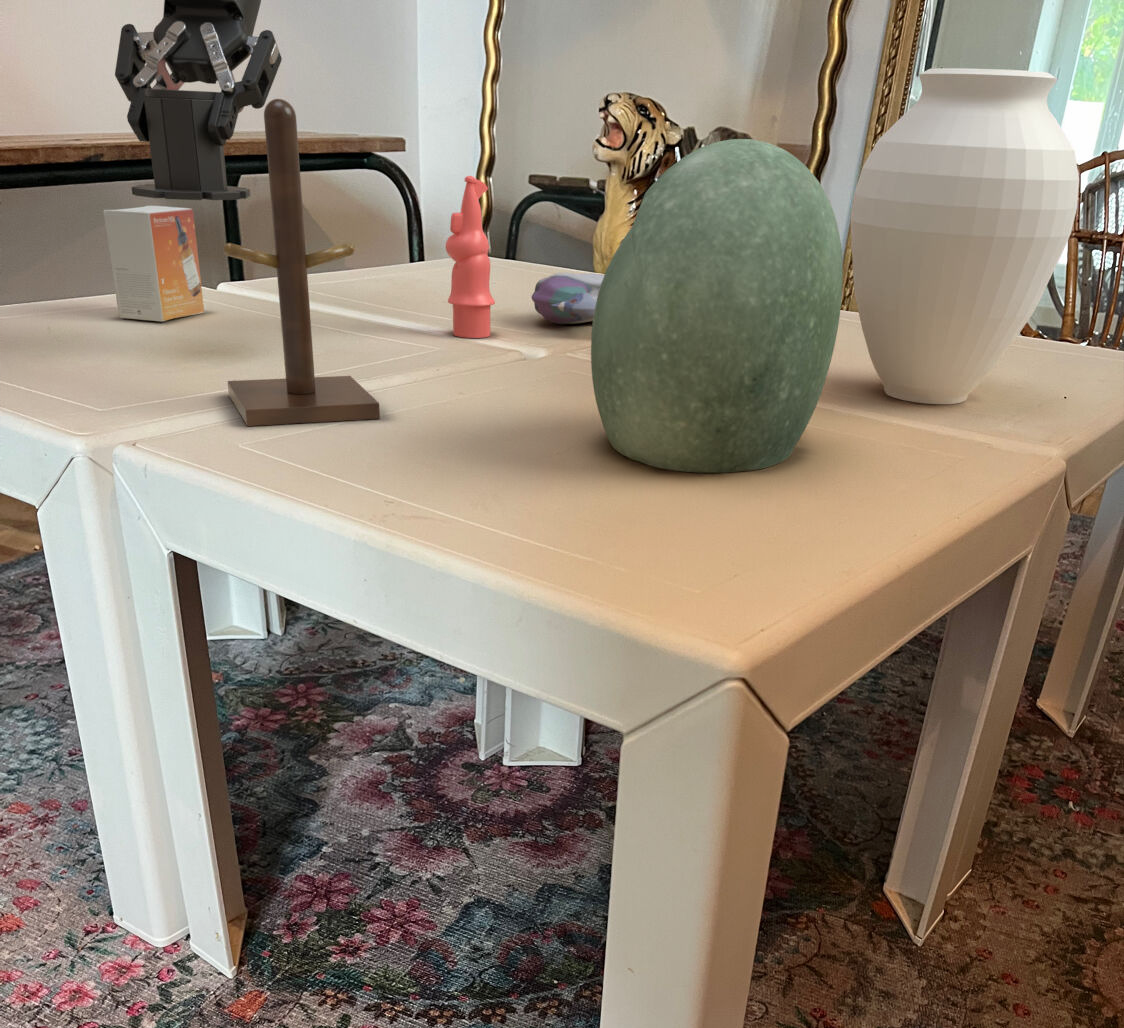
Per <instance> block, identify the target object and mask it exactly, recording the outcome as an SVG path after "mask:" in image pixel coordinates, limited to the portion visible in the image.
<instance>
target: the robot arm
mask: <svg viewBox="0 0 1124 1028" xmlns="http://www.w3.org/2000/svg"><path fill="white" fill-rule="evenodd" d="M261 3H262V0H163V16H162V19H161V20H160V22H159V23H158V24H156V26H155V27H154V29H153V31H144V32H143V31H139V32H138V31H137V28H136V27H135V25H134V24H132V23H127V24H124V25H123V26H122V27H121V29H120V36H119V43H118V50H117V56H116V64H115V71H114V77H115V78H116V81H117V83H118V84H119V86H120V89H121V90H122V91H123V93H124V95H125V97H126V99H127V101H128V102H130V105H129V108H128V111H127V115H126V119H127V122H128V124H129V126H130V128H131V130H132V131H133V134H134V135H135V136H136V138H137V140H138V141H139V142H144V143H145V142H147V143H149V135H148V127H147V119H146V111H145V103H144V97H146V95H145V89H164V90H181V88H182V87H183V85H184V84H185V83H186V84H187V83H190V84H192V83H196V82H201V83H204V84H206V85H207V84H208V85H209V84H211V85H216V84H217V82H218V85H219V88H220V89H221V90H220V91H215V92H216V94H215V98H214V102H213V106H212V110H211V114H210V118H209V122H208V131H209V133H210V136H211V138H212V140H213V142H214V144H215V145H216V146H223V147H225V146H226V143H227V140H229V141H230V140H231V138H232V137H234V133H235V128H236V125H237V121H238V116H239V114H240V113H241V112H243V110H244V108H245V107H249V106H251V107H252V108H253V109H256V110H258V109H262V108H263V107H264V106H265V104H266V101H267V98H268V96H269V94H270V92H271V89H272V86H273V83H274V81H275V78H276V76H277V73H278V71H279V68H280V66H281V63H282V60H283V59H282V56H281V52H280V49H279V47H278V43H277V41H276V38H275V35H274V33H273V31H272V30H269V29H265V30H262V31H261V32H260V33H259V35H258V36H255V35H254V32H255V27H256V23H257V19H258V17H259V16H258V15H259V11H260V7H261ZM253 35H254V36H253ZM249 57H250V58H249ZM248 58H249V60H248V63H247V65H246V68H245V70H244V73H243V75H242V78H241V80H240V81H236V79H235V75H234V73H233V71H234V70H235V69H236V68H237V67H239V66H240V65H241V64H243V62H244V61H246V60H247V59H248ZM166 65H167V66H166ZM167 67H168V69H169V70H170V71H171V73H169V70H168V69H167ZM155 80H156V82H155V84H154V85H153V86H151V85H152V83H153V82H154V81H155Z"/></svg>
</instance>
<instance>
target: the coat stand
mask: <svg viewBox="0 0 1124 1028" xmlns="http://www.w3.org/2000/svg"><path fill="white" fill-rule="evenodd" d="M263 120H264V121H263V122H264V133H265V134H264V135H265V147H266V156H267V159H266V160H267V168H268V170H267V171H268V181H269V193H270V205H271V206H270V207H271V216H272V229H273V240H274V241H273V242H274V253H275V254H272V253H270V252H269V253H268V252H265V251H261V250H258V249H254V248H251V247H248V246H244V245H239V244H236V243H232V242H227V243H225V244H224V245H223V252H224V254H225V255H226V256H228V257H230V258H234V259H238V260H242V261H245V262H249V263H253V264H256V265H261V266H263V267H268V268H272V269H275V270H276V275H277V276H276V277H277V278H276V279H277V290H278V300H279V313H280V326H281V337H282V346H283V347H282V348H283V349H282V350H283V359H284V371H285V373H284V374H285V378H266V379H264V378H263V379H243V380H227V390H228V396H229V398H230V399H231V402H232V403H233V405H234V406H235V408H236V410H237V411H238V413H239V415H240V417H241V418H242V420H243V421H244V423H245V424H246V426H247V427H257V426H258V427H259V426H260V427H261V426H274V425H275V426H276V425H277V426H278V425H292V424H309V423H327V422H329V423H331V422H344V421H345V422H346V421H347V422H348V421H364V420H365V421H366V420H379V419H380V418H381V414H380V402H379V401H377V400H376V399H375V398H374V397H373V396H372V395H371V394H370V393H369V392H368V391H367V390H366V389H365V388H364V387H363V386H362V385H360V384H359V383H358V381H356V380H355V378H353V377H352V376H351V375H337V376H334V375H333V376H315V363H314V350H313V348H314V347H313V335H312V323H311V321H312V320H311V307H310V292H309V279H308V270H309V269H311V268H314V267H318V266H320V265H321V266H322V265H324V264H327V263H330V262H334V261H336V260H337V261H338V260H340V259H344V258H346V257H347V258H348V257H350V256H352V255H354V253H355V246H354V244H353V243H352V242H344V243H341V244H338V245H335V246H331V247H328V248H324V249H322V250H319V251H318V250H317V251H315V252H311V253H308V254H307V251H306V250H307V249H306V237H305V236H306V235H305V223H304V207H303V194H302V193H303V192H302V181H301V179H302V178H301V167H300V166H301V165H300V155H299V154H300V153H299V138H298V137H299V136H298V125H297V115H296V110H295V109H294V107H293V106H292V104H290V102H288V101H287V100H285V99H281V98H274V99H272V100H270V101H269V102H268V103H267V104H266V105H265V107H264V110H263Z"/></svg>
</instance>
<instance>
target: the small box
mask: <svg viewBox="0 0 1124 1028" xmlns="http://www.w3.org/2000/svg"><path fill="white" fill-rule="evenodd" d="M102 212H103V219H104V225H105V233H106V240H107V245H108V253H109V259H110V266H111V271H112V273H111V274H112V280H113V287H114V293H115V299H116V305H117V312H118V317H119V318H120V319H128V320H140V321H153V322H167V321H169V320H173V319H178V318H182V317H190V316H194V315H200V314H205V306H204V297H203V288H202V287H203V286H202V279H201V278H202V277H201V270H200V262H199V261H200V259H199V253H198V252H199V251H198V243H197V235H196V234H197V233H196V226H195V225H196V223H195V217H194V215H195V214H194V210H193V208H191V207H190V208H188V207H178V206H177V207H176V206H165V205H145V206H139V207H131V208H121V209H104V210H103V211H102Z"/></svg>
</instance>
